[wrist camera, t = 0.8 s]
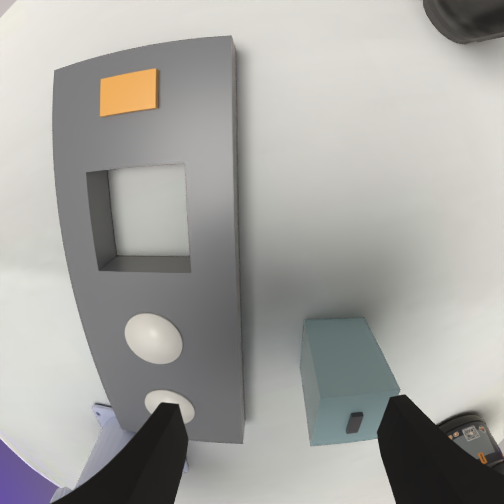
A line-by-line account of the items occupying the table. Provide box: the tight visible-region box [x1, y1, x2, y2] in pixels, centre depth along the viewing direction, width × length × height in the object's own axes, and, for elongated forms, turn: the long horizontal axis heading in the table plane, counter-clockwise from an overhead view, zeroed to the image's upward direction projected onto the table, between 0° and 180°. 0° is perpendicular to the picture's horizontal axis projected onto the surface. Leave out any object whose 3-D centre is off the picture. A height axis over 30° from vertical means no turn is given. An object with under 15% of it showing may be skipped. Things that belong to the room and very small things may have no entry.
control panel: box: [52, 36, 245, 444], centre depth 17 cm, size 26×10×3 cm, turn 1°
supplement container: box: [438, 415, 504, 475], centre depth 19 cm, size 10×10×12 cm
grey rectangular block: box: [300, 318, 400, 446], centre depth 16 cm, size 4×4×7 cm
